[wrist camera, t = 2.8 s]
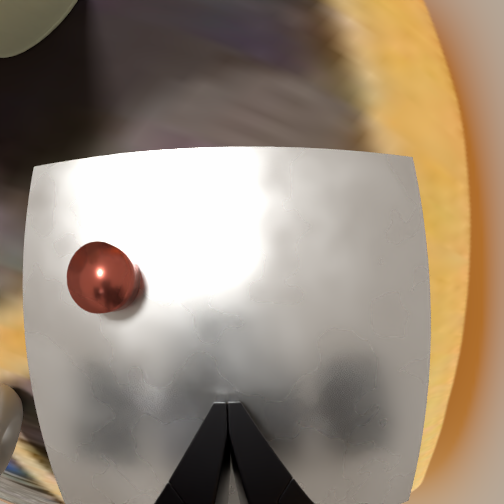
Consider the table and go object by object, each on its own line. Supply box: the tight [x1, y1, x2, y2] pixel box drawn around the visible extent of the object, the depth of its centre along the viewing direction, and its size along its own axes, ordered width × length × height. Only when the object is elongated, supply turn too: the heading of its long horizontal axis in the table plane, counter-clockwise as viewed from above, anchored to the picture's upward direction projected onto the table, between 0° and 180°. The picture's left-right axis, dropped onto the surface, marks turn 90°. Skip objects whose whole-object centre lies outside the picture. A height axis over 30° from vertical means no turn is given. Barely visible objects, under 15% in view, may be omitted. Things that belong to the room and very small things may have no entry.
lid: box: [23, 147, 431, 504], centre depth 9 cm, size 17×14×2 cm
